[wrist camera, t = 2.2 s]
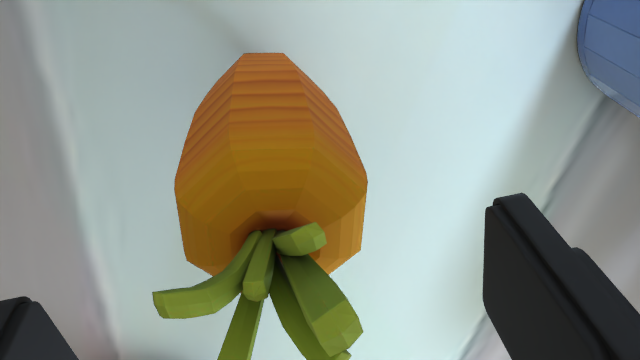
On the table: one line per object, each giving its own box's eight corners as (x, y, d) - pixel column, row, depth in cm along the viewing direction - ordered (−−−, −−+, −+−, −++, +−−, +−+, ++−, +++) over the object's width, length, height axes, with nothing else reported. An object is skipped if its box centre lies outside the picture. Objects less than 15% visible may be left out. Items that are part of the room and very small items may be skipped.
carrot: (234, 135, 22) (220, 494, 10) (178, 34, 20) (59, 355, 7) (337, 94, 22) (458, 417, 9) (295, -16, 19) (386, 236, 7)
